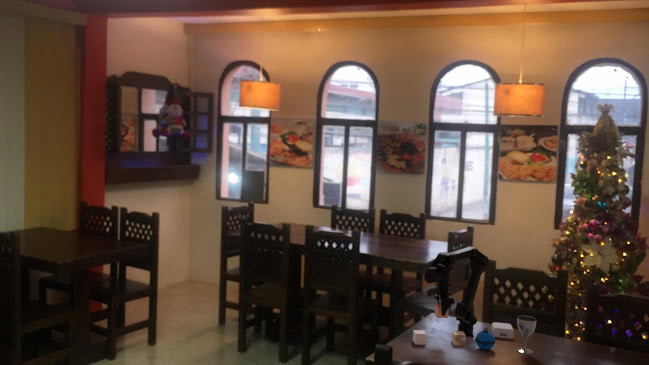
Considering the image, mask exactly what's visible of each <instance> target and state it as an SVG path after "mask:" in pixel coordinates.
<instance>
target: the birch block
mask: <svg viewBox="0 0 649 365" xmlns="http://www.w3.org/2000/svg"><path fill="white" fill-rule="evenodd" d="M450 340H451V344H453V346H466V335H465V333H464V332H463V331H457V330H452V331H451V339H450Z"/></svg>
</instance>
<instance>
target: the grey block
mask: <svg viewBox="0 0 649 365" xmlns="http://www.w3.org/2000/svg"><path fill="white" fill-rule="evenodd" d="M427 337H428V335H427V332H426V331H425V330H421V329H415V330H414V329H413V331H412V341H413V343H414V345H419V346H420V345H427Z"/></svg>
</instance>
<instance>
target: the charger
mask: <svg viewBox="0 0 649 365" xmlns="http://www.w3.org/2000/svg"><path fill="white" fill-rule="evenodd" d="M491 333H492V334H493V336H494V338H499V337H500V338H501V339H509V340H512V339H514V335H515V334H514V328H513V325H512V324H511V323H506V322H505V323H504V322H492V323H491ZM500 338H499V339H500Z"/></svg>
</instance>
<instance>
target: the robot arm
mask: <svg viewBox="0 0 649 365" xmlns="http://www.w3.org/2000/svg"><path fill="white" fill-rule="evenodd" d="M465 259H468V260H469V261H470V262H469V268H470V273H469V276H468V277H469V278H468V280H467V283H466V287H465V291H464V294H463V297H462V300H461V301H460V302H457V303H456V304H455V302H456V301H455V298H453V297H452V296H451V292H450V287H452V283H451V272H453V271H455V269H454V268H453V266H455V265H456V263H457V262H460V261H463V260H465ZM489 264H490V260H489V257H488V256H487V255H485V254H484V253H482V252H481V251H479V249H478V248H477V247H473V246H466V247H465V248H461V249H457V250H455V251H451V252H448V251H447V252H446V251H442V252H438V253H437V255H436V257H435V259H434V261H433V262H432V265H431V267H427V270H426V271H425V272H424V274H423V279H424V281H425V282H426V283H427V284H432V283H434V284H432V285H429V286H426V287H424V288H423V290H424V293H425V295H426V297H427V298H430V297H431V296H433V298H434V299H435V300H436V302H437V303H436V304H441V313H442V316H445V314H446V312H447V310H448V308H449V309H450V307H451V305H456V306H455V308H454V315H455V320H456V321H458V324H457V328H456V329H457V330H456V331H463V332H464V333H465V335H466V337H467V338H473V337H475V335H474V326H475V325H476V324H477V323H478V318H477V317H476V316H475V306H474V302H475V298H476V294H477V291H478V286H479V284H480V280H481V278H482V274H483V273H484V272H486V271H487V270H488V267H489Z"/></svg>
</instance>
